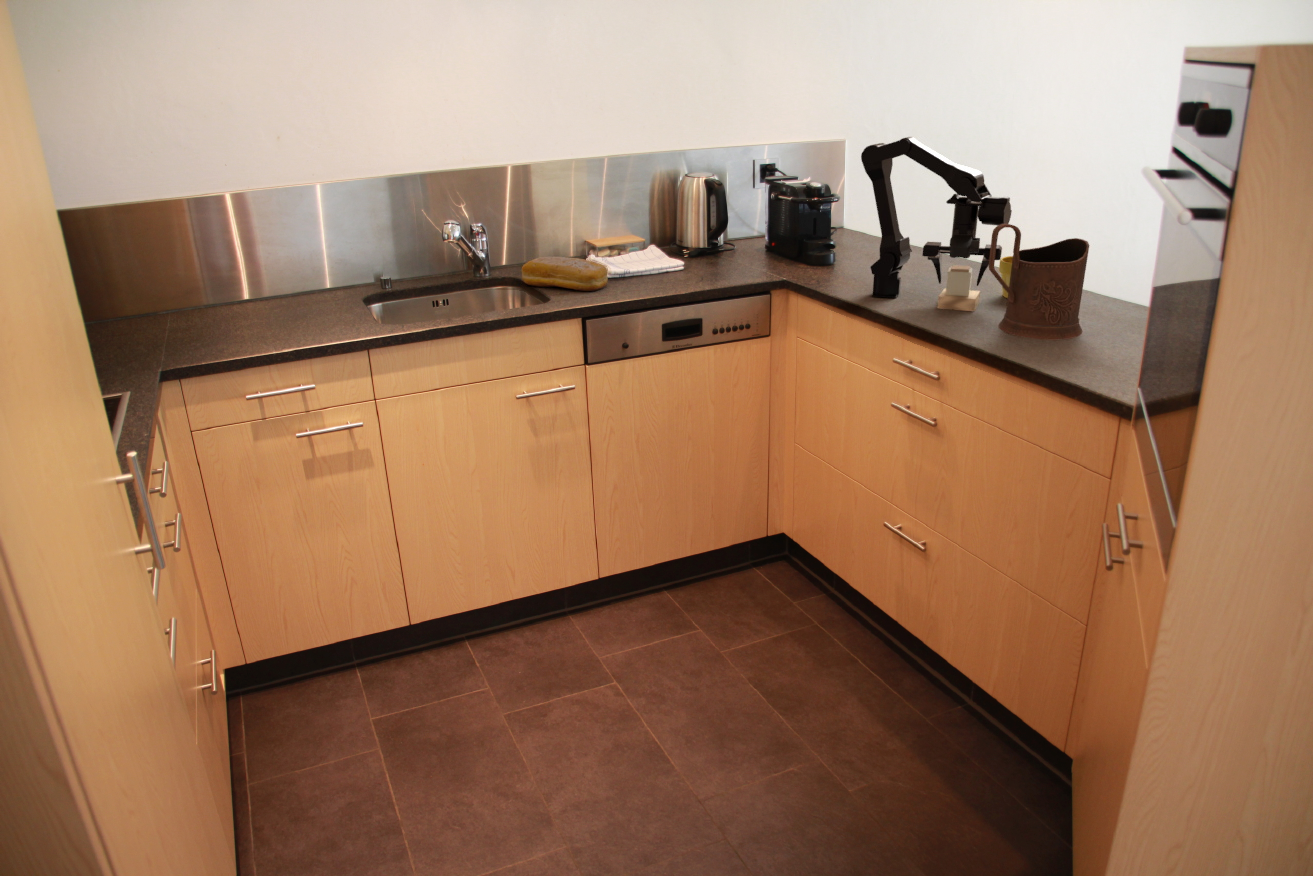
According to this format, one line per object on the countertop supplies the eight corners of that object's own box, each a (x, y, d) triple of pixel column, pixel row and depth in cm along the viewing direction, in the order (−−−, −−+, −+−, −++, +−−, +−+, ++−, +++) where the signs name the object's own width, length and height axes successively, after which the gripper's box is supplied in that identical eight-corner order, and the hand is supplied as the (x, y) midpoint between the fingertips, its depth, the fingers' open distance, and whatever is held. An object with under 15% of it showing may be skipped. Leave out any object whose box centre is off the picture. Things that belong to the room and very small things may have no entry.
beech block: (937, 309, 237) (938, 296, 236) (943, 301, 244) (944, 288, 243) (974, 312, 233) (975, 299, 232) (978, 304, 241) (980, 290, 240)
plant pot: (1040, 302, 240) (1045, 264, 236) (998, 301, 242) (1003, 263, 238) (1033, 292, 249) (1038, 255, 245) (993, 291, 251) (997, 255, 247)
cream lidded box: (945, 294, 236) (948, 269, 234) (947, 290, 241) (949, 264, 239) (968, 296, 235) (971, 270, 232) (970, 291, 239) (972, 265, 237)
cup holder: (1100, 335, 212) (1118, 225, 202) (1004, 344, 207) (1018, 231, 197) (1051, 315, 228) (1066, 211, 219) (962, 323, 224) (973, 218, 214)
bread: (537, 278, 281) (535, 251, 278) (616, 284, 271) (615, 257, 268) (514, 288, 269) (512, 260, 266) (595, 295, 259) (594, 266, 256)
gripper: (922, 226, 228) (916, 289, 234) (1002, 230, 221) (995, 294, 227) (927, 219, 237) (922, 279, 243) (1005, 222, 231) (997, 284, 237)
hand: (958, 284), depth 237 cm, fingers open, 9 cm apart
